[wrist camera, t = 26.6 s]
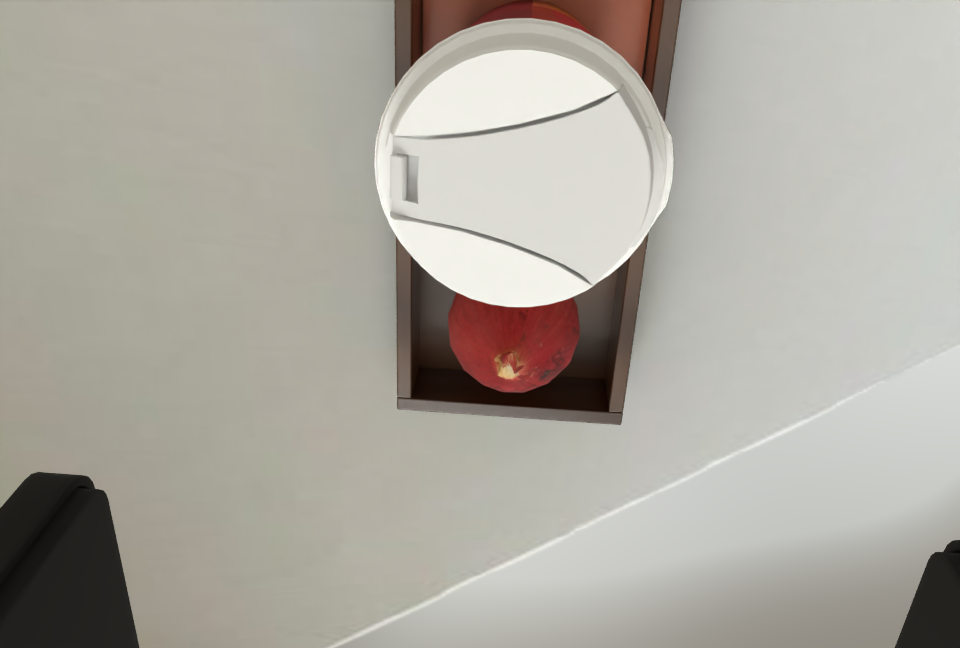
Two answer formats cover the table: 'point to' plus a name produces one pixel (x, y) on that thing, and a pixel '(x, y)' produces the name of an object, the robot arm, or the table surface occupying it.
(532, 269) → the coffee cup
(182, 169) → the table surface
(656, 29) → the organizer
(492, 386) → the red round fruit
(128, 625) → the robot arm
